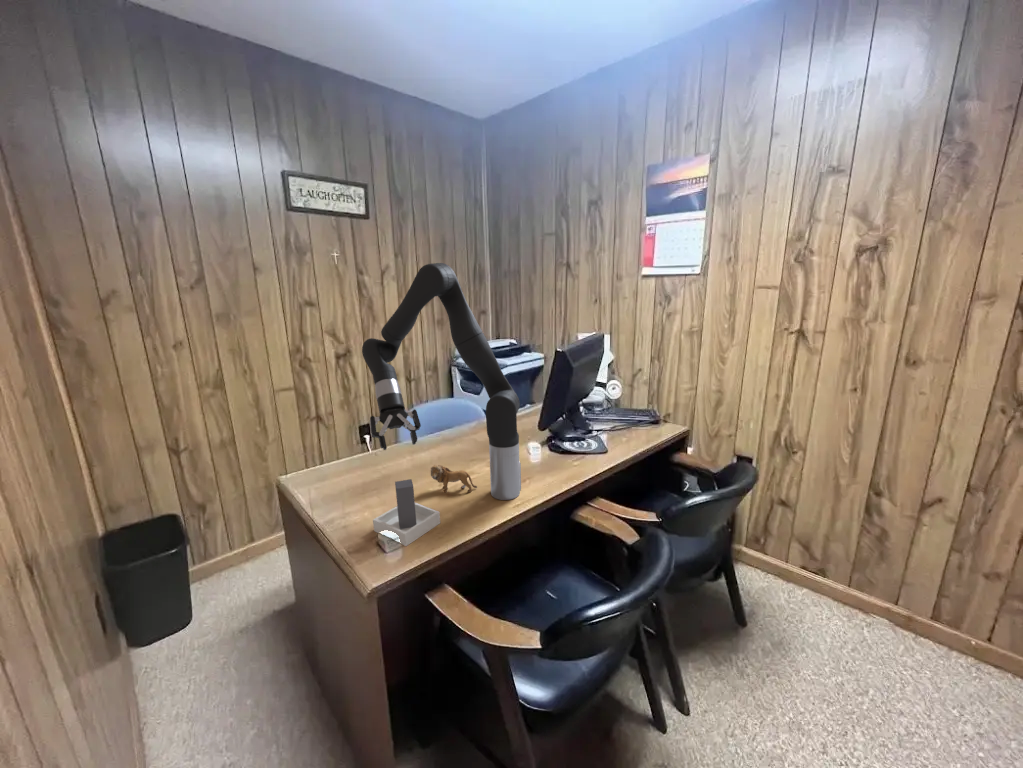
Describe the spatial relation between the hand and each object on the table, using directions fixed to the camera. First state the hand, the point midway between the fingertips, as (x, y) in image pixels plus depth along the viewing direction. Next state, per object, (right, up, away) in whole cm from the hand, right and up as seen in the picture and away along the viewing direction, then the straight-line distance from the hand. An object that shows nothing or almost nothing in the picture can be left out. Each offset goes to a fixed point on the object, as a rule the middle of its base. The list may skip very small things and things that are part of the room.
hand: (400, 446), depth 124 cm
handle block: (+4, -20, -8) cm, 22 cm away
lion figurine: (+14, -16, +12) cm, 25 cm away
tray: (+4, -21, -8) cm, 23 cm away
